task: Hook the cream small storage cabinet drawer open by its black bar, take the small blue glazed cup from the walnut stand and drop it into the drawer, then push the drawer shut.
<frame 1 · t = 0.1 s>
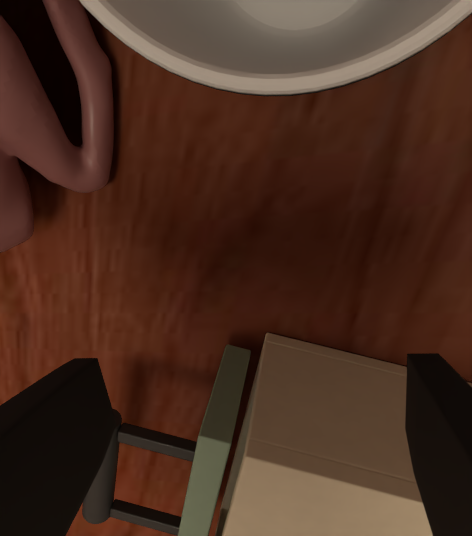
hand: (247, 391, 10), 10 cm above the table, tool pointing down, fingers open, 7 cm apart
drawer: (284, 502, 21), point 4 cm above the table, slide at 0.5 cm
small storage cabinet: (375, 462, 24), on the table
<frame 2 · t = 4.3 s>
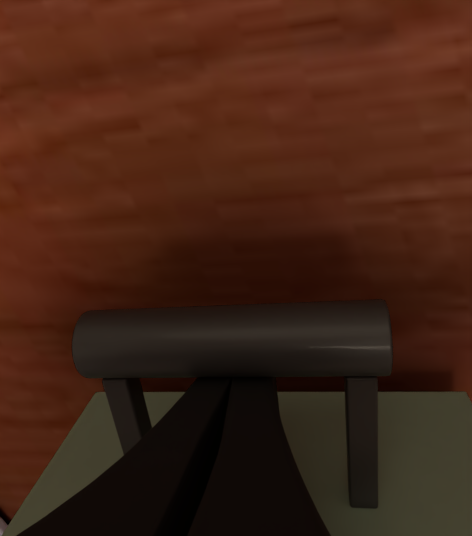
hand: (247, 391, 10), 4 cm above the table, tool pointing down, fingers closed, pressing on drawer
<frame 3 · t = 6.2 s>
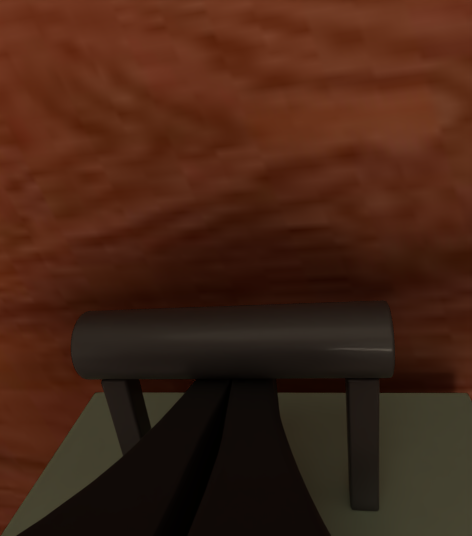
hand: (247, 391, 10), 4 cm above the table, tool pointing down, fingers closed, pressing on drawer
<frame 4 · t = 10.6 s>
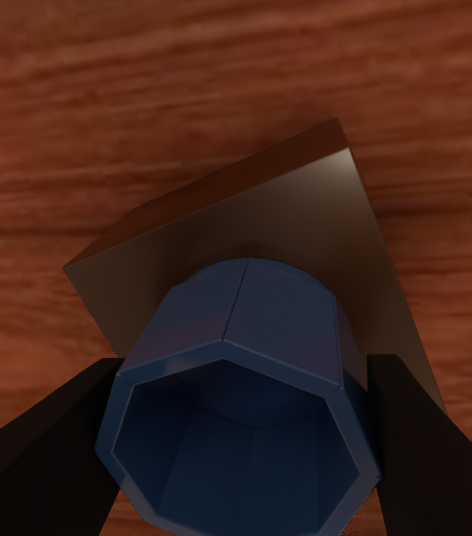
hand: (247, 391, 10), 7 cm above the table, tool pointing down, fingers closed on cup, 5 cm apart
cup: (254, 345, 12), point 6 cm above the table, touching gripper, stand
stand: (272, 263, 17), on the table
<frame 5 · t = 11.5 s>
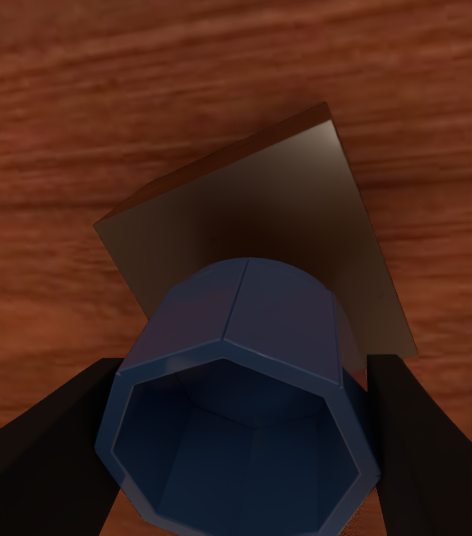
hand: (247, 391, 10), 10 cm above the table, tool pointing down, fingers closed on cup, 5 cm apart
cup: (254, 345, 12), point 8 cm above the table, touching gripper
stand: (270, 232, 19), on the table
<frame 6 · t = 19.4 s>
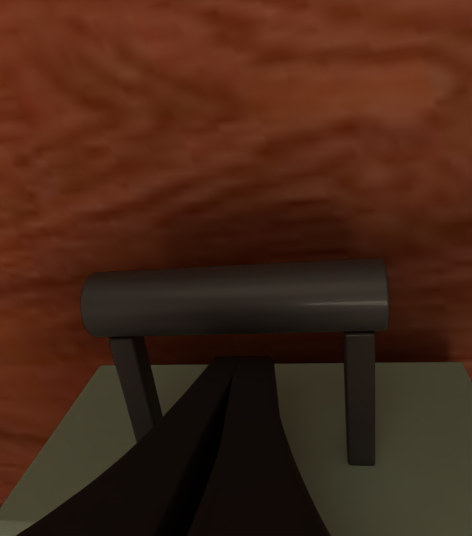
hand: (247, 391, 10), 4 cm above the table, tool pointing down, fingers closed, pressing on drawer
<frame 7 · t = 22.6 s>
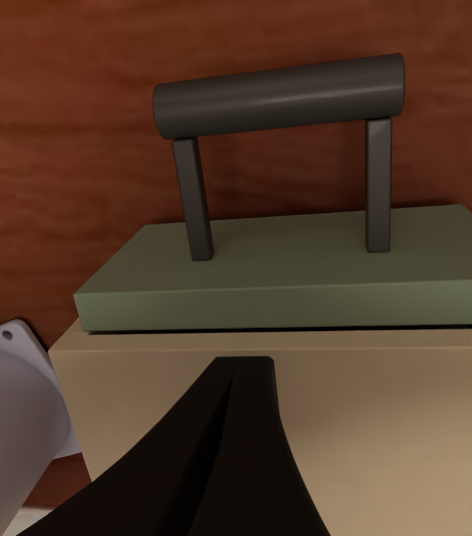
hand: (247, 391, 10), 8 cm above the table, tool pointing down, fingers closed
drawer: (297, 361, 15), point 4 cm above the table, slide at 0.0 cm, touching cup
small storage cabinet: (306, 387, 20), on the table
cup: (300, 359, 18), point 2 cm above the table, touching drawer
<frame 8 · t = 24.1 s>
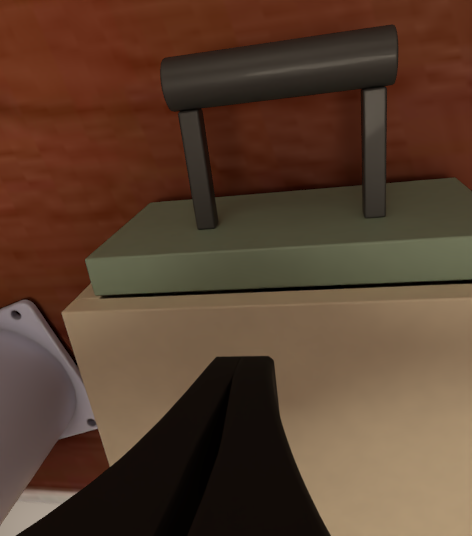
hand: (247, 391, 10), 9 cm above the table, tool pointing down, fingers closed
drawer: (298, 329, 16), point 4 cm above the table, slide at 0.0 cm, touching cup
small storage cabinet: (307, 363, 21), on the table
cup: (300, 331, 18), point 2 cm above the table, touching drawer
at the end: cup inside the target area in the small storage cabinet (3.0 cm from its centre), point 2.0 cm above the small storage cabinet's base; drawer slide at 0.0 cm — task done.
